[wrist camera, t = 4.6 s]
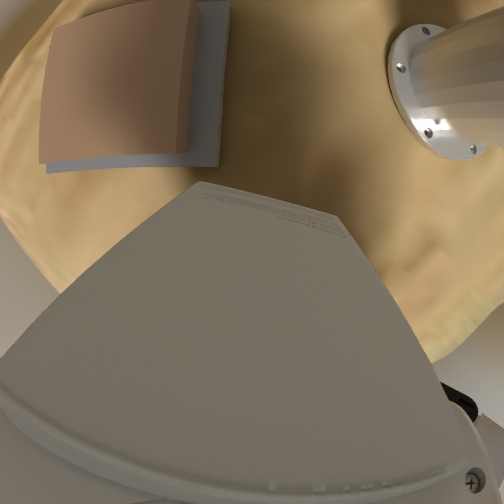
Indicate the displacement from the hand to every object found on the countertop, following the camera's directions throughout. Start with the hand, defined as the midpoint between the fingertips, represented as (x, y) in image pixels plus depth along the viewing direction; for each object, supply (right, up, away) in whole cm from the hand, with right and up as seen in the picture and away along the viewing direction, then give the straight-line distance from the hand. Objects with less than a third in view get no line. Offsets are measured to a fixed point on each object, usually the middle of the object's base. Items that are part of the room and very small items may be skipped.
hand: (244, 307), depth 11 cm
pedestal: (-9, +15, +6) cm, 19 cm away
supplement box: (0, +2, +4) cm, 4 cm away
